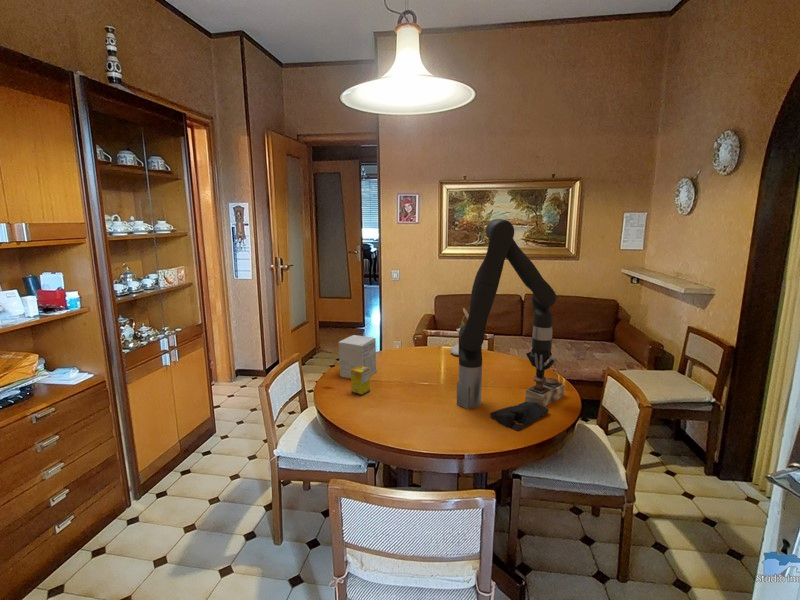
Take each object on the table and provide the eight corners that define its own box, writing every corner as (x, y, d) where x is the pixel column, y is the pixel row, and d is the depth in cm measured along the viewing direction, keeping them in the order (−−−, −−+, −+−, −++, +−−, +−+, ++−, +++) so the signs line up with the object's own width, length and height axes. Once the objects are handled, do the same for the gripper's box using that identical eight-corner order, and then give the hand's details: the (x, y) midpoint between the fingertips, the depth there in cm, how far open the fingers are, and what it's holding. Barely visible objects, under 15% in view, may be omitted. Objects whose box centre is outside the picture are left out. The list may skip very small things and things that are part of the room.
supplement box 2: (360, 388, 194) (359, 365, 192) (370, 391, 191) (369, 367, 188) (351, 392, 190) (350, 369, 187) (361, 396, 186) (360, 372, 184)
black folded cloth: (555, 417, 166) (556, 405, 165) (515, 434, 155) (516, 421, 154) (524, 402, 179) (524, 391, 178) (485, 417, 167) (485, 405, 166)
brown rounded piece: (541, 396, 174) (541, 381, 173) (530, 392, 178) (531, 377, 176) (547, 392, 177) (548, 377, 176) (537, 389, 181) (538, 374, 179)
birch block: (542, 407, 173) (543, 394, 172) (525, 401, 179) (525, 387, 178) (563, 396, 183) (564, 383, 182) (546, 390, 189) (547, 377, 188)
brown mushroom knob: (552, 397, 180) (553, 383, 179) (542, 394, 184) (543, 379, 183) (559, 394, 183) (560, 380, 182) (548, 391, 187) (549, 376, 186)
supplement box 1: (377, 371, 213) (376, 337, 210) (362, 381, 202) (361, 345, 198) (354, 367, 219) (353, 334, 216) (339, 376, 208) (337, 341, 204)
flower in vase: (465, 358, 229) (466, 312, 224) (446, 355, 235) (446, 310, 230) (475, 351, 240) (476, 307, 234) (457, 348, 246) (457, 305, 240)
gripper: (522, 335, 175) (520, 375, 179) (551, 342, 165) (549, 385, 169) (533, 331, 180) (531, 370, 183) (562, 338, 170) (560, 380, 173)
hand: (540, 377), depth 176 cm, fingers closed
